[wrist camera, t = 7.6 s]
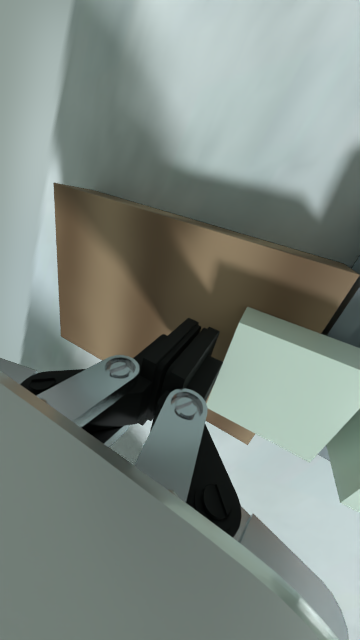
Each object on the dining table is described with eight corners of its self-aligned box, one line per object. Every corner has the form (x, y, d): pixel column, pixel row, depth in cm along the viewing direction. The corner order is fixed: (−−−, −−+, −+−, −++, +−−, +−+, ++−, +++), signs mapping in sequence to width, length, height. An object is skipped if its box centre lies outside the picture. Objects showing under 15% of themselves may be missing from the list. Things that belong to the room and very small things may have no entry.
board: (343, 263, 10) (359, 274, 8) (254, 410, 16) (247, 445, 13) (93, 190, 15) (53, 182, 13) (89, 323, 20) (60, 336, 18)
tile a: (367, 350, 9) (385, 380, 7) (306, 427, 11) (309, 462, 9) (247, 306, 10) (239, 322, 8) (216, 382, 13) (205, 406, 11)
